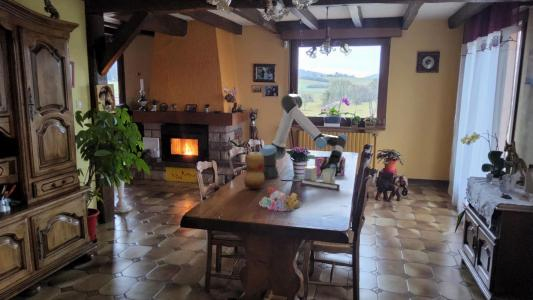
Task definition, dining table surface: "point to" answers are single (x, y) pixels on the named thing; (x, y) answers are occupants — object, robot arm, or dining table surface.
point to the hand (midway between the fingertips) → (326, 179)
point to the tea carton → (328, 175)
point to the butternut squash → (254, 170)
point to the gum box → (321, 159)
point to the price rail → (320, 184)
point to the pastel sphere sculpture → (280, 201)
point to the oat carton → (310, 173)
